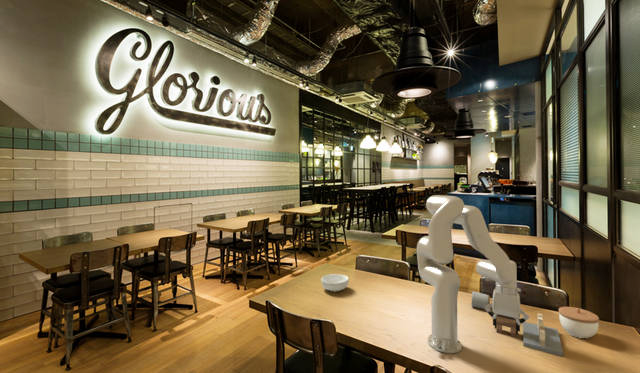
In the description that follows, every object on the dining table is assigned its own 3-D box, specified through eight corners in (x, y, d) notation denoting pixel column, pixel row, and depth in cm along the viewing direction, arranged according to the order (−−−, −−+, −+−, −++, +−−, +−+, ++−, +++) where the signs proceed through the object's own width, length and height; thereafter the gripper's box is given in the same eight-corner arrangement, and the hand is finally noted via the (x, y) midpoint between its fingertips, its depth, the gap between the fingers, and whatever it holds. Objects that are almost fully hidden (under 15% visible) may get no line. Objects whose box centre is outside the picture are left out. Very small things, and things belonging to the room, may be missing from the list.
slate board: (563, 356, 105) (563, 352, 105) (523, 346, 112) (523, 342, 112) (557, 332, 121) (557, 329, 121) (522, 324, 128) (522, 321, 128)
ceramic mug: (490, 312, 141) (489, 297, 140) (471, 308, 145) (471, 293, 145) (489, 304, 150) (489, 290, 150) (472, 301, 154) (472, 287, 154)
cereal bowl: (331, 282, 185) (331, 272, 185) (353, 288, 176) (353, 276, 175) (315, 291, 171) (315, 279, 171) (339, 297, 162) (338, 285, 162)
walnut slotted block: (516, 337, 118) (515, 320, 118) (496, 332, 122) (496, 316, 122) (516, 333, 121) (516, 316, 121) (496, 328, 125) (496, 312, 125)
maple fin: (545, 346, 109) (545, 332, 109) (539, 345, 110) (539, 331, 110) (542, 326, 123) (542, 314, 123) (537, 325, 124) (537, 313, 124)
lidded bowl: (551, 326, 126) (551, 302, 126) (580, 326, 126) (580, 302, 126) (575, 342, 114) (575, 315, 113) (608, 342, 113) (608, 315, 113)
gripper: (530, 290, 120) (531, 331, 120) (483, 282, 130) (483, 320, 130) (531, 296, 113) (531, 340, 114) (481, 287, 123) (482, 327, 124)
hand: (506, 329), depth 122 cm, fingers closed on walnut slotted block, 7 cm apart
